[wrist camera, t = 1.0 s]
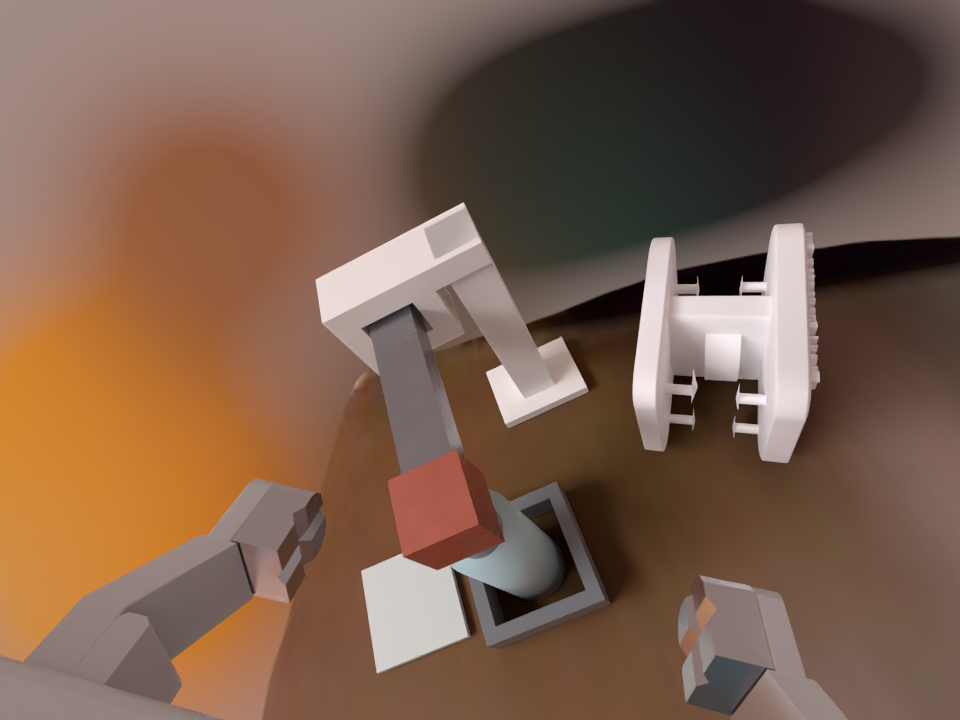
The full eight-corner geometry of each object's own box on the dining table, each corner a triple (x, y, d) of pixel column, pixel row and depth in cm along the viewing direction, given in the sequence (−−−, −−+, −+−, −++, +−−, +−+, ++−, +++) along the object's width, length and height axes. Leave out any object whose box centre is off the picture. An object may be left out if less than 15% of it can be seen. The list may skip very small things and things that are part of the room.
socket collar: (564, 491, 43) (556, 481, 41) (611, 604, 38) (605, 599, 36) (467, 533, 44) (454, 525, 42) (500, 648, 39) (486, 646, 37)
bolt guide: (563, 342, 50) (494, 175, 33) (588, 391, 47) (525, 233, 30) (439, 400, 52) (313, 269, 35) (455, 452, 49) (323, 335, 32)
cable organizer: (660, 305, 49) (650, 218, 39) (790, 305, 44) (815, 207, 35) (643, 458, 42) (627, 397, 33) (794, 476, 38) (824, 412, 29)
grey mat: (445, 537, 45) (442, 535, 44) (471, 636, 40) (468, 636, 40) (364, 572, 46) (361, 571, 45) (380, 673, 41) (377, 673, 41)
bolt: (418, 273, 39) (393, 238, 36) (505, 541, 27) (478, 524, 24) (372, 296, 40) (343, 264, 37) (437, 570, 28) (403, 556, 25)
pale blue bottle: (551, 524, 42) (498, 472, 31) (575, 586, 39) (526, 553, 28) (496, 547, 43) (425, 504, 32) (515, 610, 40) (445, 587, 29)
